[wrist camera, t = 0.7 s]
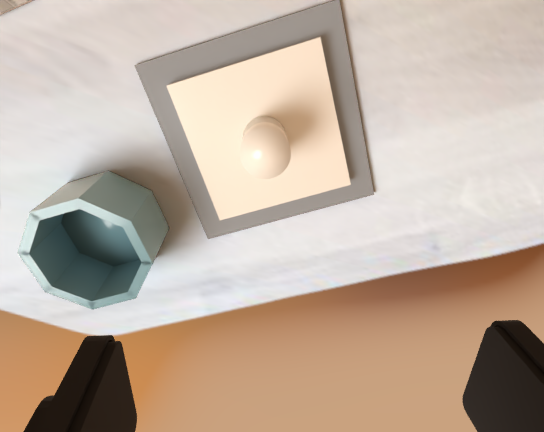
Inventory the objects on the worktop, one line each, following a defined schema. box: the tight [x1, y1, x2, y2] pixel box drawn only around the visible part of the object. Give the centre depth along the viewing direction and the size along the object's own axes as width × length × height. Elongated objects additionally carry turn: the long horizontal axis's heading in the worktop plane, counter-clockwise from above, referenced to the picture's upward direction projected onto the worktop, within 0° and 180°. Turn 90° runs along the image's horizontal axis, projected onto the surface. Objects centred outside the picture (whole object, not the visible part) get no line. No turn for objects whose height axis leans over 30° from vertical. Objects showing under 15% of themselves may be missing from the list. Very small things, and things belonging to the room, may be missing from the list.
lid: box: [167, 37, 351, 220], centre depth 29 cm, size 12×12×6 cm
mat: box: [135, 0, 374, 239], centre depth 31 cm, size 16×16×1 cm
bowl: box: [18, 171, 169, 309], centre depth 32 cm, size 10×10×6 cm
